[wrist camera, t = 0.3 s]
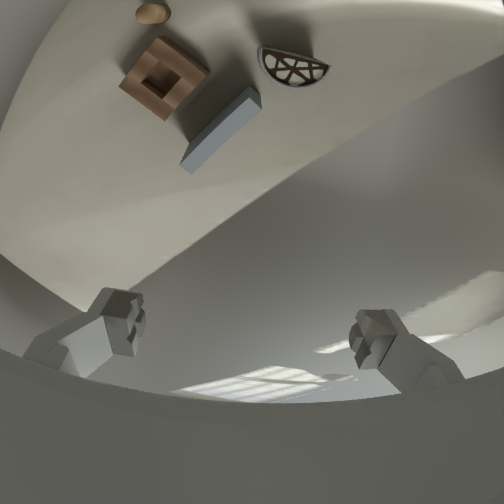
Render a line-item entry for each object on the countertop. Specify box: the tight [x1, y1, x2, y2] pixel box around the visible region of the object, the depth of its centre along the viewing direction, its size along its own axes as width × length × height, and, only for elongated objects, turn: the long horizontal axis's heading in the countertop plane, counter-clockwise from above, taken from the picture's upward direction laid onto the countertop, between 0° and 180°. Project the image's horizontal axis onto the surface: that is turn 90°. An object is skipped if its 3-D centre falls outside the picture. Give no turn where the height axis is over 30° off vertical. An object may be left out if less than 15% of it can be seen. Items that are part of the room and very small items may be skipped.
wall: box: [180, 86, 262, 175], centre depth 50 cm, size 18×3×10 cm, turn 134°
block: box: [119, 36, 211, 121], centre depth 44 cm, size 12×12×5 cm
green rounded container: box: [257, 46, 332, 89], centre depth 42 cm, size 12×6×10 cm, turn 78°
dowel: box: [135, 3, 171, 24], centre depth 33 cm, size 4×4×8 cm
